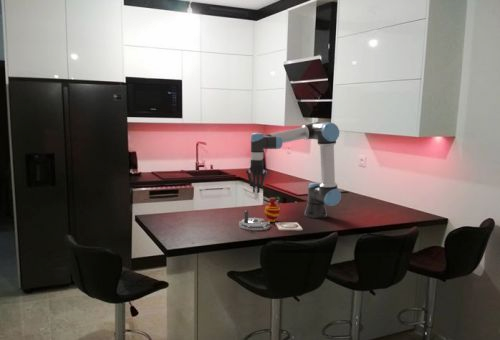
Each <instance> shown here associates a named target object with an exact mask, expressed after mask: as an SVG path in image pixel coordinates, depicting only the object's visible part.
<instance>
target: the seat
mask: <svg viewBox="0 0 500 340" xmlns="http://www.w3.org/2000/svg"><path fill="white" fill-rule="evenodd" d="M275 226H276V227H277V229H278V230H279V231H303V228H302V226H301V225H300V224H299V223H298V222H275Z"/></svg>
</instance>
